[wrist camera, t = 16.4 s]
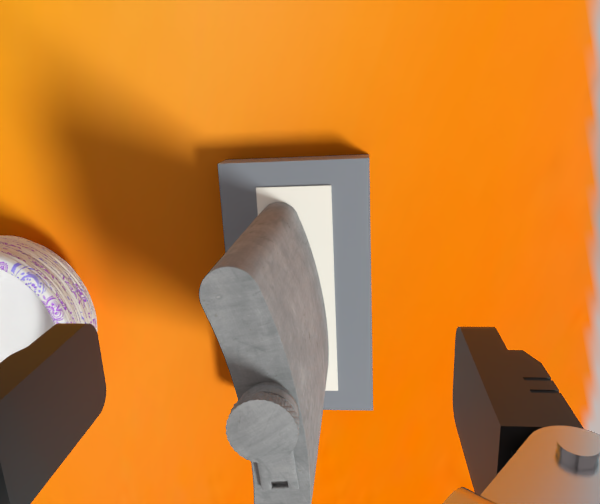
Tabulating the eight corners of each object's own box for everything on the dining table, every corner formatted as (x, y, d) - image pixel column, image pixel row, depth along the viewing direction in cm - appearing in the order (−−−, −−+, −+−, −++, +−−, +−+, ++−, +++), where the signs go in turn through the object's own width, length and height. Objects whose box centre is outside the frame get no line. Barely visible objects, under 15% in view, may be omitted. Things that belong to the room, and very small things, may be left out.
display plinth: (226, 159, 47) (216, 164, 44) (368, 154, 45) (369, 158, 42) (245, 391, 53) (238, 409, 50) (372, 392, 51) (373, 411, 48)
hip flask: (256, 205, 44) (175, 288, 25) (305, 196, 44) (261, 274, 24) (295, 381, 48) (252, 570, 29) (341, 375, 47) (328, 564, 28)
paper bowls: (-59, 323, 54) (-128, 360, 47) (-4, 195, 50) (-69, 212, 42) (75, 402, 55) (29, 451, 48) (141, 282, 51) (102, 315, 43)
